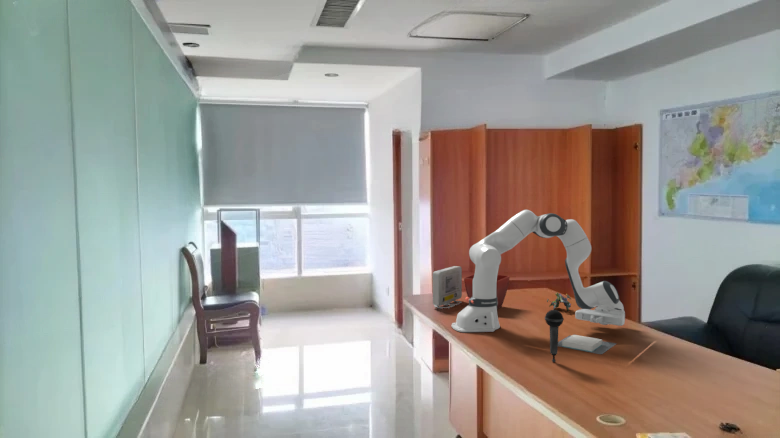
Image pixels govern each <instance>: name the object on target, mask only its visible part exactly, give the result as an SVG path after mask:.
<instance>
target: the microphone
mask: <svg viewBox="0 0 780 438" xmlns="http://www.w3.org/2000/svg"><path fill="white" fill-rule="evenodd" d="M544 320H545V324H547V326H549V349H550V350H549V352H550V354H551V356H552V360H551V362H552V363H555V362H557V361H556V356H557V354H558V349H559V348H558V347H559V346H558V342H559V327H560V326H562V324H563V321H564V320H565V319H564V316H563V314H562V313H561V312H560V311H559V310H557V309H554V310H553V309H551V310H549V311H547V313H545V316H544Z"/></svg>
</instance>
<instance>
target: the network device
mask: <svg viewBox="0 0 780 438" xmlns="http://www.w3.org/2000/svg"><path fill="white" fill-rule="evenodd" d="M462 270H463V269H462V266H457V265H453V266H450V267H445V268H442V269H438V270H435V271H433V272H432V305H433V306H434V308H436V307H437V308H436V309H442V308H448V309H450V307H451V308H453V307H456V306H458V305H461V304H462V300H459V299H461V298H462V294H463V286H462V285H463V282H462V281H463V280H462V279H463V274H462V273H463V271H462ZM452 301H454V302H452ZM458 302H459V303H458ZM460 303H461V304H460ZM448 305H450V306H448ZM455 305H456V306H455Z"/></svg>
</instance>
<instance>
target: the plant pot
mask: <svg viewBox="0 0 780 438" xmlns="http://www.w3.org/2000/svg"><path fill="white" fill-rule="evenodd" d="M474 274H475V273H473V274H471V275H468V276H466V277H463V280H464V286H465V293H466V295H467V296H466V297H469V298H471V297H472V296H473V278H474ZM510 278H511V277H510V275H502V274H498V275H497V285H496V297H497V301H498V305H497V310H499V309H500V308H501V307H503V304H504V302H505V298H506V297H507V296H506V295H507V291H508V288H509V284H510V283H509V282H510Z"/></svg>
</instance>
